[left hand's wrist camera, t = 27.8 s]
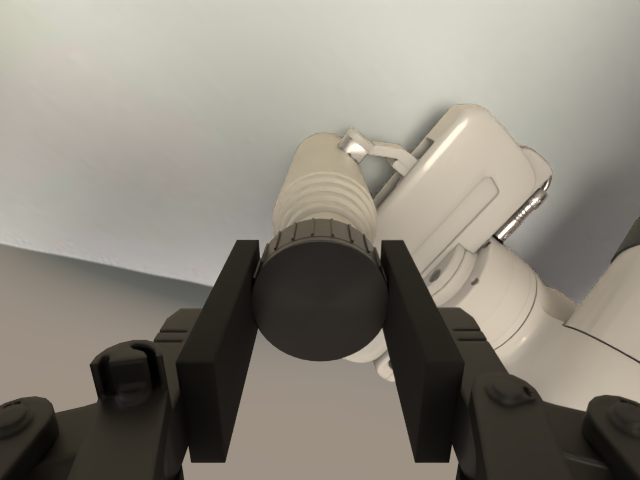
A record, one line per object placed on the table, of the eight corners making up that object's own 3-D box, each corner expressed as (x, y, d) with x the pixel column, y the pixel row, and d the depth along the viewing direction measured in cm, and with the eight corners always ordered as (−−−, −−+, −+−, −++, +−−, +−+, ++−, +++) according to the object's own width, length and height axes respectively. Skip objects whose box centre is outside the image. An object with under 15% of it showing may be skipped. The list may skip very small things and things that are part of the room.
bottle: (358, 190, 35) (402, 327, 16) (298, 198, 36) (268, 342, 16) (352, 128, 33) (391, 196, 14) (288, 137, 34) (240, 217, 14)
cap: (241, 233, 14) (229, 258, 12) (368, 203, 14) (376, 223, 12) (278, 338, 16) (271, 374, 14) (393, 313, 15) (403, 347, 13)
